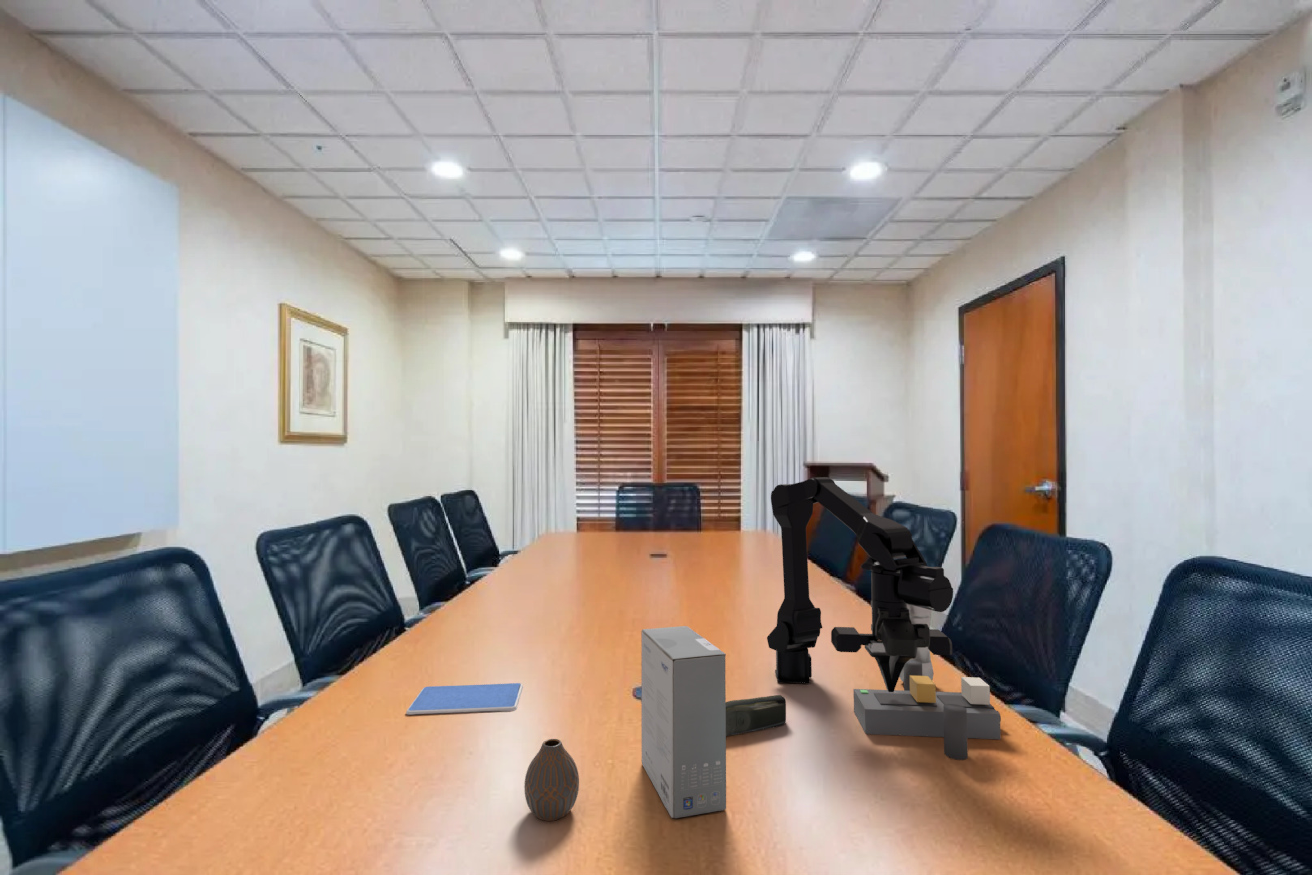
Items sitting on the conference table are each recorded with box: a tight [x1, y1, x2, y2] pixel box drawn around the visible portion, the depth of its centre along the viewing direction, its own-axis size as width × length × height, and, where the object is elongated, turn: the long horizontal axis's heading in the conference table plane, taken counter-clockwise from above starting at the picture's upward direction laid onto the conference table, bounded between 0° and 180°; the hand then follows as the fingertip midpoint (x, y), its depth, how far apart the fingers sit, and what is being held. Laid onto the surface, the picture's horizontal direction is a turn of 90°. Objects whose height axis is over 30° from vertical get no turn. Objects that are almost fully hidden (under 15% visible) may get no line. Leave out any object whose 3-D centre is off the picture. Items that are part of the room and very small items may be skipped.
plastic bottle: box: [899, 604, 934, 683], centre depth 124 cm, size 6×7×20 cm
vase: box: [523, 738, 580, 822], centre depth 80 cm, size 7×7×9 cm
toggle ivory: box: [960, 676, 991, 705], centre depth 104 cm, size 3×4×3 cm
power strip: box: [853, 688, 1002, 740], centre depth 105 cm, size 23×9×4 cm, turn 84°
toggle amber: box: [910, 675, 937, 703], centre depth 105 cm, size 3×4×3 cm
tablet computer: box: [405, 682, 524, 716], centre depth 117 cm, size 19×13×1 cm, turn 96°
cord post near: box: [943, 704, 969, 761], centre depth 95 cm, size 3×3×7 cm
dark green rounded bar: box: [726, 694, 787, 737], centre depth 104 cm, size 5×3×15 cm
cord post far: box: [903, 660, 922, 691], centre depth 115 cm, size 3×3×7 cm
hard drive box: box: [640, 625, 727, 819], centre depth 86 cm, size 16×8×20 cm, turn 17°
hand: (890, 691), depth 106 cm, fingers closed
